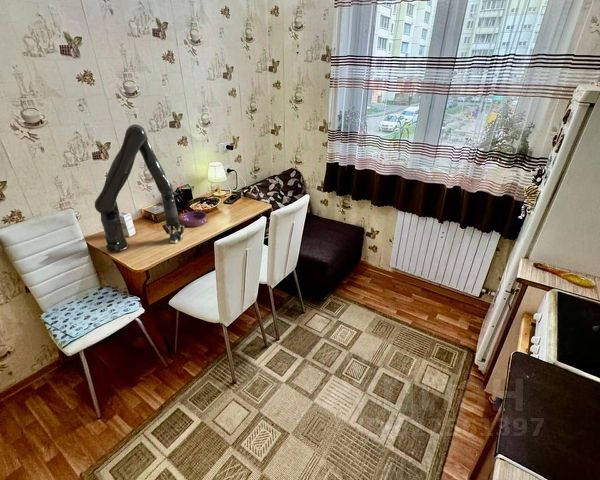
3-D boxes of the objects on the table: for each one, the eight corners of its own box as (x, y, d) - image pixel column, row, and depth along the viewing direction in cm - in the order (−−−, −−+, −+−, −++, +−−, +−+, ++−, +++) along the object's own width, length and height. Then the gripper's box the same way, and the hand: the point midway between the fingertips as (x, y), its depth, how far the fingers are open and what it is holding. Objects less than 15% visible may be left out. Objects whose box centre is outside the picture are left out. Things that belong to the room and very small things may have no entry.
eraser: (175, 243, 187) (174, 237, 186) (170, 242, 188) (169, 237, 186) (181, 237, 194) (180, 231, 192) (176, 236, 195) (175, 231, 193)
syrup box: (136, 233, 198) (130, 212, 191) (129, 237, 193) (123, 216, 186) (129, 231, 199) (123, 211, 193) (122, 235, 194) (115, 215, 188)
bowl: (201, 228, 206) (200, 222, 204) (177, 226, 208) (176, 220, 206) (211, 217, 221) (210, 212, 219) (188, 216, 223) (187, 210, 221)
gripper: (156, 216, 180) (162, 241, 189) (179, 218, 179) (184, 243, 187) (163, 211, 187) (168, 236, 195) (185, 213, 185) (189, 237, 194)
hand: (176, 239), depth 191 cm, fingers closed on eraser, 3 cm apart
